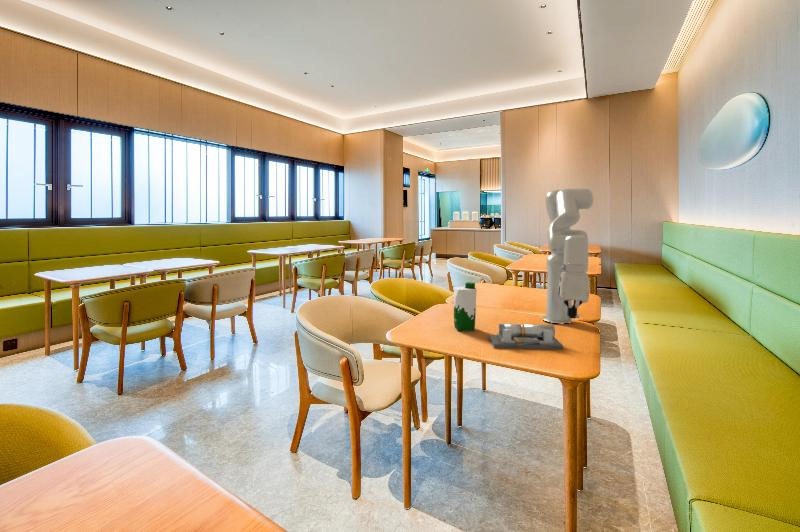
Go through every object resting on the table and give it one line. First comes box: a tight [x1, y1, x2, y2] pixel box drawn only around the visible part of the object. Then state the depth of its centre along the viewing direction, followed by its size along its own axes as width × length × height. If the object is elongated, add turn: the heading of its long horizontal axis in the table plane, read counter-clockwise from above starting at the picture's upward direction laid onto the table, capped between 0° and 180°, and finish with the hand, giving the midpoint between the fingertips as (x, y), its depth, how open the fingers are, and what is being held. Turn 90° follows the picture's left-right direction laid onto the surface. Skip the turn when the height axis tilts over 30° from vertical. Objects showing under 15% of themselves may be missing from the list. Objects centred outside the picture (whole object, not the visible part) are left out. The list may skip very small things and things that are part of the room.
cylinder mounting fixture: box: [488, 323, 564, 351], centre depth 155 cm, size 25×12×6 cm, turn 86°
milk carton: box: [453, 281, 477, 332], centre depth 174 cm, size 9×9×20 cm
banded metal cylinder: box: [503, 323, 556, 338], centre depth 155 cm, size 18×5×5 cm, turn 86°
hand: (571, 317), depth 152 cm, fingers closed
